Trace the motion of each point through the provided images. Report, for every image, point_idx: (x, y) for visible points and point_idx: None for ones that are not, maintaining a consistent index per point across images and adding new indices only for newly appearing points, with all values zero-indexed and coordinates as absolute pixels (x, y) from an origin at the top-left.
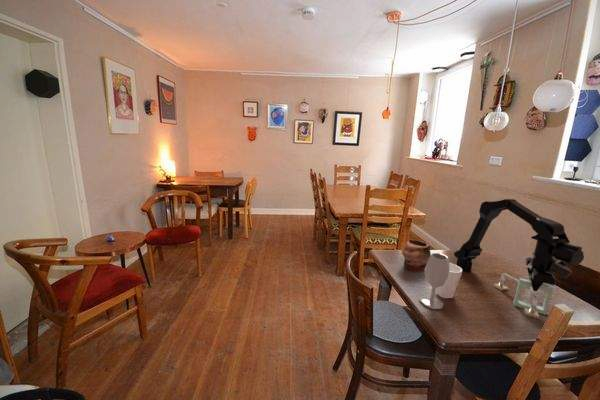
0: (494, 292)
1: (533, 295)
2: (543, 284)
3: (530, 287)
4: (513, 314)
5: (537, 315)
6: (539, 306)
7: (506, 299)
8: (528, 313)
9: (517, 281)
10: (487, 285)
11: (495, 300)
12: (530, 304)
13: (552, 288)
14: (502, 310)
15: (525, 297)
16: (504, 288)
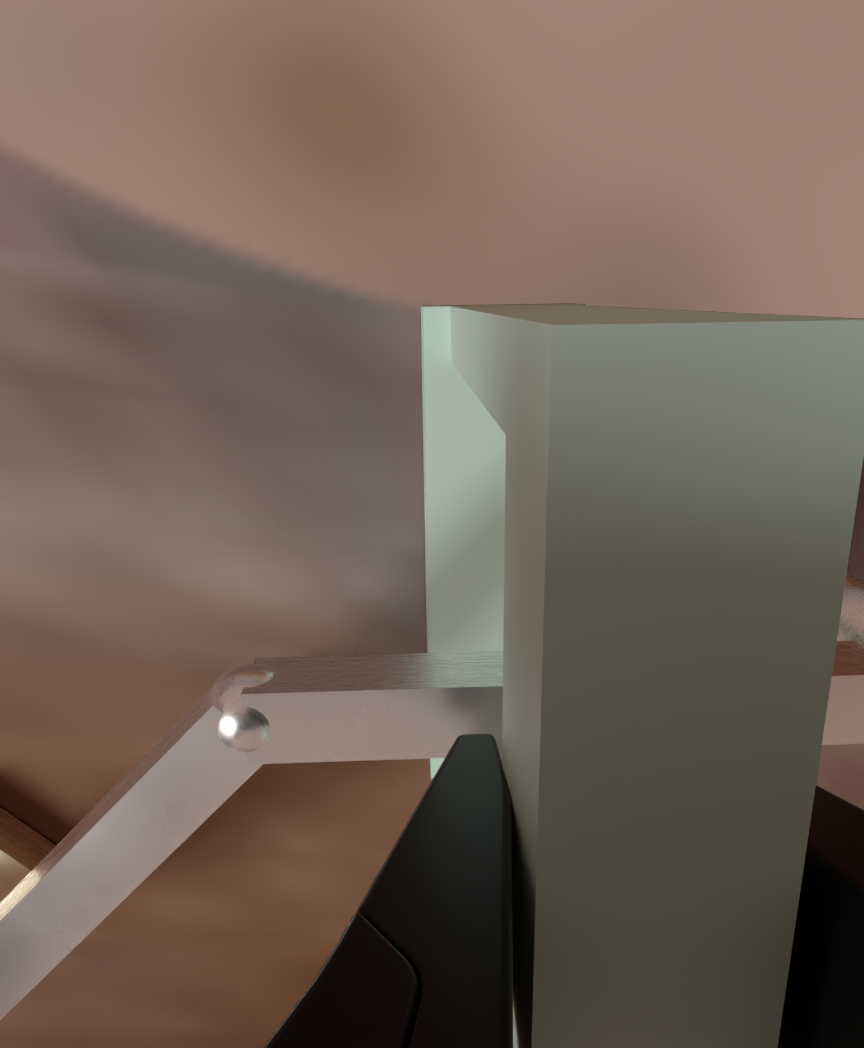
0: (263, 955)
1: (822, 743)
2: (651, 724)
3: (276, 757)
4: (859, 762)
5: None
6: (447, 407)
7: (398, 819)
8: None
9: (29, 979)
10: (63, 1035)
11: None
12: (472, 551)
13: (848, 350)
14: None
15: (55, 543)
16: (29, 865)
